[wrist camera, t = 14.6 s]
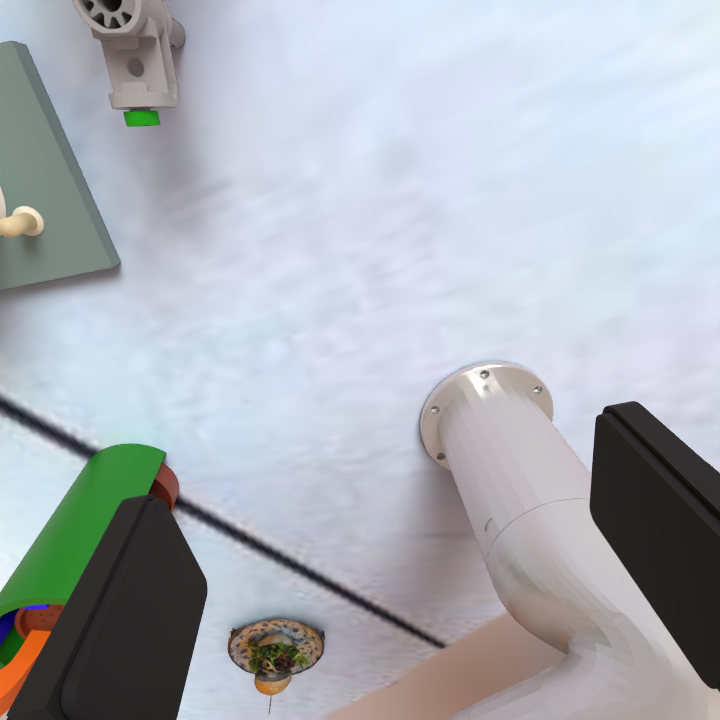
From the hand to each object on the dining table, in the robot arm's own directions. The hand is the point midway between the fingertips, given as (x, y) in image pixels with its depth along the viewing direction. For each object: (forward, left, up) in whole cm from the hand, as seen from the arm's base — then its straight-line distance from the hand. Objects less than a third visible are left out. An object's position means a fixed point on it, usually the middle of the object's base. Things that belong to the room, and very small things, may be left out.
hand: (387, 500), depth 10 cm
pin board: (+8, +26, -28) cm, 39 cm away
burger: (-48, +18, -29) cm, 59 cm away
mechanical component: (+14, +8, -28) cm, 33 cm away
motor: (-20, +25, -28) cm, 43 cm away
